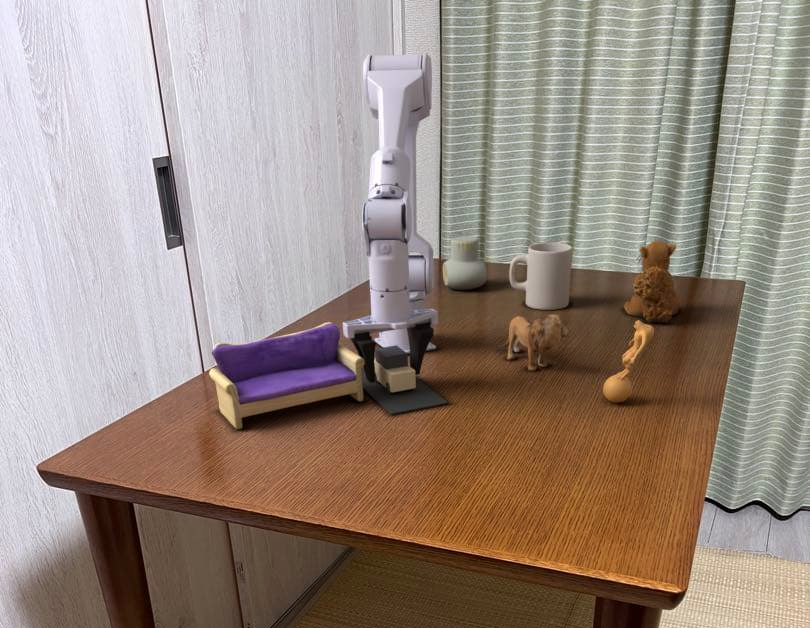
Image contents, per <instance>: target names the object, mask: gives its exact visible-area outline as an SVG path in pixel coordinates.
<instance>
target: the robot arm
mask: <svg viewBox="0 0 810 628" xmlns="http://www.w3.org/2000/svg"><path fill="white" fill-rule="evenodd" d="M362 80H363V92H364V97H365V99H366V101H367V105H368V109H369V111H370V112H371V116H372V118H374V119H376V120H378V146H379V149H378V150H376V151H375V152H374V153H373V154H372V156H371V158H370V161H369V164H370V165H369V180H368V193H367V194H368V195H367V203H366V202H363V204H362V209H361V226H362V233H363V238H364V244H365V245H364V246H365V253H366V256H367V257H368V276H369V291H370V292H369V293H370V294H369V295H370V313H371V315H367V316H363V317H360V318H356V319H353V320H348V321H343V322H342V331H343V332H342V334H343V336H344V337H345V338H347V339H348V340H350V341H351V343H352V344H353V346H354V348H355V350H356V352H357V355H358V356H360V357H361V358H363V359H364V361H365V364H364V366H363V367H364V370H365V374H366V379H367V380H368V381H369V382H370V383H373V382H375V377H376V376H375V364H374V359H375V358H376V356H375V349H376V346H377V344H378V345H379V346H381V348H383V347H389V346H395V345H397V346H398V347H399V348H401V349H402V350H404V351H405V352H406V353H408V355H409V366H410V367H411V368H412V369H414V370H415V376H416V375H421V369H422V364H423V361H424V357H425V354H426V352H427V351H432V350H436V349H437V346H436V345H435V344H433V343H432V342H431V340H432V339H433V337H434V334H435V330H434V328H433V327H431V326H436V325H439V311H437V310H436V309H434V308H428V309H427V295H430V294H431V293H432V292H433V291H434V288H435V258H434V248H433V247H432V244H431V243H430V242H429V241H428V240H426V239H425V238H424V237H422V236H421V235H420V234H419V233H418V229H417V227H418V224H417V222H418V221H417V219H418V217H417V211H418V210H417V134H418V131H419V126H420V122H422V121H423V120H424V119H427V118H428V117H430V116H431V109H432V103H433V102H432V101H433V100H432V95H433V65H432V58H431V56H430V55H429V54H428V52H422V53H421V54H420V53H418V54H390V55H389V54H388V55H387V54H386V55H372V54H367V55H366V57H365V58H364V60H363V66H362ZM409 253H416V254H412V255H411V254H409ZM417 253H418V254H417ZM376 333H377V334H378V337H375V338H374V340H373V337H372V336H371V335H372V334H376ZM363 367H362V368H363Z"/></svg>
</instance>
